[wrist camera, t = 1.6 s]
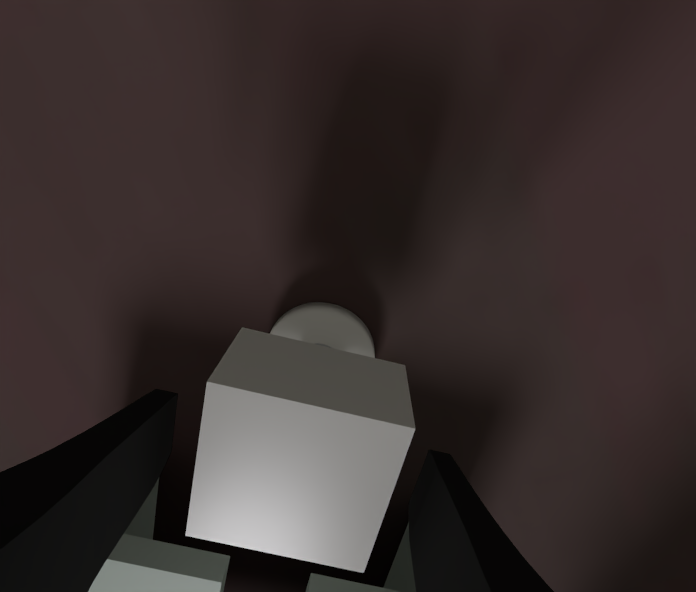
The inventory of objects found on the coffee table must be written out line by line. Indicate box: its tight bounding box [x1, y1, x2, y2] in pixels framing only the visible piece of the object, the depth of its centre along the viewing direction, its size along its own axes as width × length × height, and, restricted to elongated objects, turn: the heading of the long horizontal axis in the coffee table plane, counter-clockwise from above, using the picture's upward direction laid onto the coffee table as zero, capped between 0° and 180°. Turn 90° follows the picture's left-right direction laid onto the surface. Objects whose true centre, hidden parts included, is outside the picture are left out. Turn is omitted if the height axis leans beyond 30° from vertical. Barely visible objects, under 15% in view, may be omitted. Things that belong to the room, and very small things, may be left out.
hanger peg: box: [185, 302, 415, 573], centre depth 14 cm, size 5×5×7 cm
